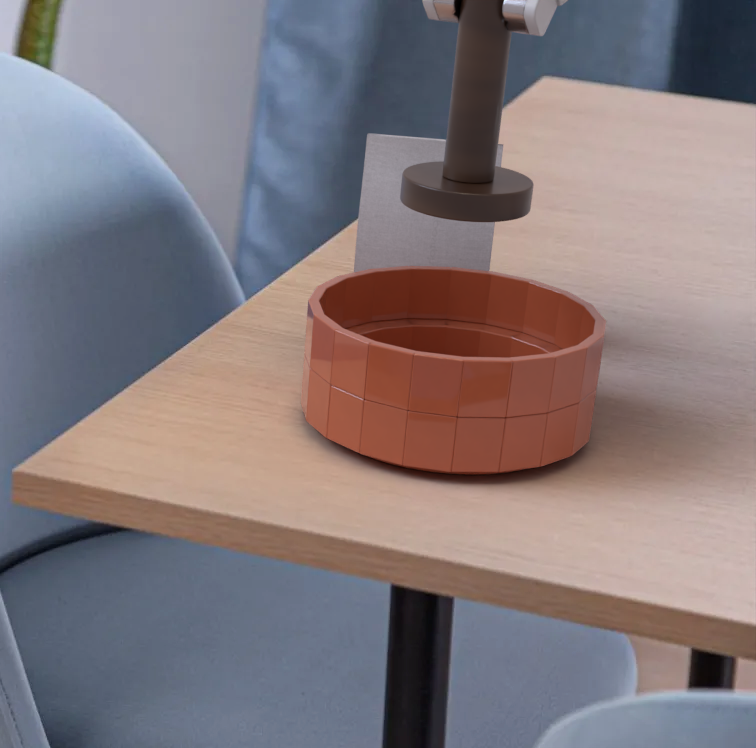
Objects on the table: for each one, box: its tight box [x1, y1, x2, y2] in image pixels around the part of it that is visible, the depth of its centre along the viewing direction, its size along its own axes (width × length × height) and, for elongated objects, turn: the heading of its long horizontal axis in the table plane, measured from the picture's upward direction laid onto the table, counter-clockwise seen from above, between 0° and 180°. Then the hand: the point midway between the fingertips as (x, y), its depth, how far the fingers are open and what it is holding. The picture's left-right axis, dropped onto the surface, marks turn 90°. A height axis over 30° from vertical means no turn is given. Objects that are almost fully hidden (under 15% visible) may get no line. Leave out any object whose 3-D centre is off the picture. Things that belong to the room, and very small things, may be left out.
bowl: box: [300, 266, 607, 476], centre depth 79 cm, size 13×13×6 cm
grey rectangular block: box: [353, 132, 504, 272], centre depth 90 cm, size 4×7×10 cm, turn 81°
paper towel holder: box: [400, 0, 535, 223], centre depth 73 cm, size 6×6×14 cm
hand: (480, 19), depth 72 cm, fingers closed on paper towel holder, 2 cm apart
